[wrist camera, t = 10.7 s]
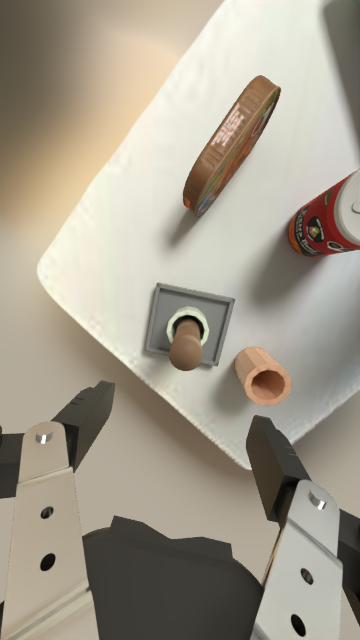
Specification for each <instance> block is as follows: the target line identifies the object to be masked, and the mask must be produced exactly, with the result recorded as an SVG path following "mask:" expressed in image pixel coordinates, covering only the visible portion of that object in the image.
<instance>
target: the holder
mask: <svg viewBox="0 0 360 640" xmlns="http://www.w3.org/2000/svg"><path fill="white" fill-rule="evenodd" d="M183 315H192V316H196V317H197V318H198V319H199V320H200V321H201V322H202V323H203V328H202V332H201V333H200V340H201V346H202V345H203V344H204V343H205V342H206V341H207V338H208V333H209V328H208V324H207V321H206V318H205V315H204V314H203V313H202V312H201V311H200V310H199V309H197V308H194V307H189V306H186V307H183V308H180V309H178V310H177V311H176V312H175V313H174V314H173V315H172V316H171V318H170V320H169V322H168V327H167V335H168V338H169V340H170V342H171V343H173V340H174V337H175V333H176V331H175V328H174V321H175V320H176V319H177V318H178V317H180V316H183Z"/></svg>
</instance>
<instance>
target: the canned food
mask: <svg viewBox="0 0 360 640" xmlns="http://www.w3.org/2000/svg"><path fill="white" fill-rule="evenodd" d="M288 235H289V240H290V243H291V245H292V247H293V248H294V249H295V250H296V251H298V252H299V253H301V254H303V255H306V256H311V257H319V256H325V255H330V254H336V253H342V252H348V251H354V250H360V169H358V170H357V171H355V172H354V173H352V174H351V175H349V176H348V177H346V178H345V179H343V180H342V181H340V182H339V183H337V184H336V185H334V186H333V187H331V188H330V189H328V190H327V191H325V192H324V193H322V194H321V195H319V196H318V197H316V198H315V199H313V200H312V201H310V202H309V203H307V204H306V205H304V206H303V207H301V208H300V209H299V210H298V211H297V213H296V214H295V215H294V217H293V219H292V221H291V223H290V226H289V231H288Z"/></svg>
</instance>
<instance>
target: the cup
mask: <svg viewBox="0 0 360 640" xmlns="http://www.w3.org/2000/svg"><path fill="white" fill-rule="evenodd" d="M235 369H236V372H237V375H238V377H239V379H240V381H241V384H242V386H243V388H244V390H245V392H246V394H247V396H248V397H249V398H250V399H251V400H252V401H253V402H255V403H256V404H260V405H264V406H270V405H274V404H278V403H280V402H281V401H282V400H283V399H285V398H286V397H287V396H288V394H289V392H290V389H291V386H292V383H291V380H290V376H289V373H287V372H286V371H285V370H284V369H283V368H282V367H281V366H280V365H279V364H278V363H277V362H276V361H275V360H274V359H273V358H272V357H271V356H270V355H269V354H268V353H267V352H266V351H265V350H264V349H261V348H258V347H250V348H246V349H244V350H243V351H241V352H240V353H239V354H238V356H237V357H236V360H235Z"/></svg>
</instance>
